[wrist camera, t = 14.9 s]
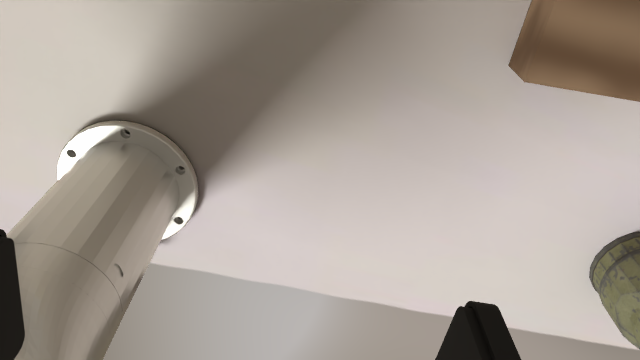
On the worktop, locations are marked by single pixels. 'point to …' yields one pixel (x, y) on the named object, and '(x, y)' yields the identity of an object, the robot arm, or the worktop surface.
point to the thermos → (620, 283)
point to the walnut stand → (581, 46)
